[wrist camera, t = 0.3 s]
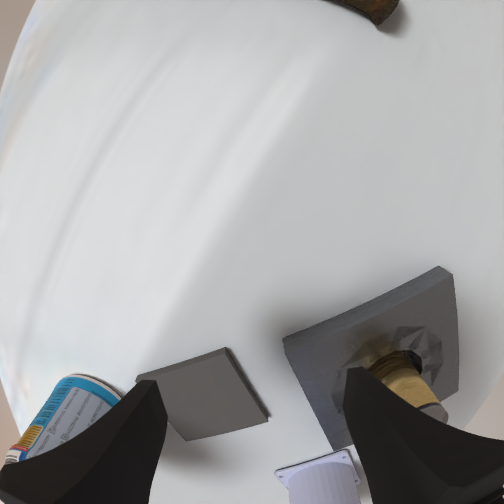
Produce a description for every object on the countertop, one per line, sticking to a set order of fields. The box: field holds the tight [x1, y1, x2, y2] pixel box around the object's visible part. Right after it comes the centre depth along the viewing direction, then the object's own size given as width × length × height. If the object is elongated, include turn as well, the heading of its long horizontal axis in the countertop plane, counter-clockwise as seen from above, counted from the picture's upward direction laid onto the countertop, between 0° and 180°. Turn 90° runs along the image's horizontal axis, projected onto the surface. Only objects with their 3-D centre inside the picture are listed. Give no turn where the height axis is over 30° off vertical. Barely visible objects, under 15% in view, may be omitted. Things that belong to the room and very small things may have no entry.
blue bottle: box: [0, 375, 121, 504], centre depth 13 cm, size 8×8×20 cm
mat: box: [135, 347, 268, 441], centre depth 22 cm, size 8×8×1 cm
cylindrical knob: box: [367, 350, 448, 424], centre depth 18 cm, size 4×4×8 cm
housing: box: [283, 266, 459, 451], centre depth 21 cm, size 13×13×2 cm
